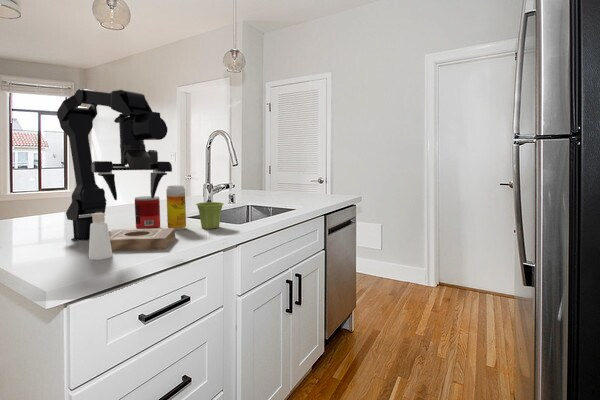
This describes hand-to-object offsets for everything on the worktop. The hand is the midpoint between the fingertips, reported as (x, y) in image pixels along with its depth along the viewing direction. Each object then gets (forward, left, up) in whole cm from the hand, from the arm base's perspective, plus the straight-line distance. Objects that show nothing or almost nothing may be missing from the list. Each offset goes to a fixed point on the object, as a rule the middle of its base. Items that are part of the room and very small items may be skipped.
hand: (134, 199), depth 94 cm
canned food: (-4, +28, -14) cm, 31 cm away
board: (-1, +5, -14) cm, 14 cm away
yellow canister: (+6, +26, -14) cm, 30 cm away
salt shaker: (-6, -8, -14) cm, 17 cm away
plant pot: (+17, +27, -14) cm, 35 cm away
